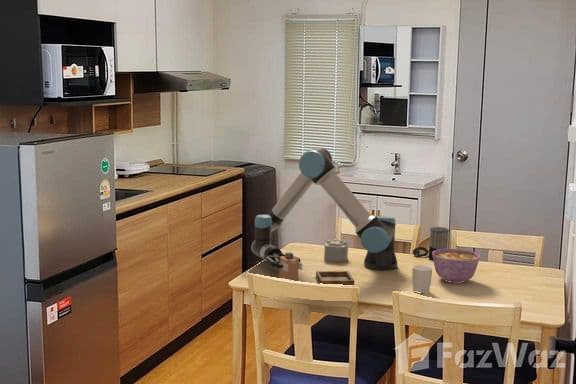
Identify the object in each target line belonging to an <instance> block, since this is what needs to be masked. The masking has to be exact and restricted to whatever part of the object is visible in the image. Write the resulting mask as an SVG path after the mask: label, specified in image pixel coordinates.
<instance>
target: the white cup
mask: <svg viewBox="0 0 576 384" xmlns="http://www.w3.org/2000/svg"><path fill="white" fill-rule="evenodd" d="M411 269H412V271H411V273H412V276H411V277H412V281H411V282H412V292H413V291H418V292H421V293H428V292H429V293H430V291H431V285H432V274H433V268H432V267H431V266H428V265H422V264H420V265H419V264H418V265H414V266H412V268H411ZM429 293H428V294H429Z"/></svg>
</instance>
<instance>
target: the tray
mask: <svg viewBox="0 0 576 384" xmlns="http://www.w3.org/2000/svg"><path fill="white" fill-rule="evenodd" d="M315 278H316V280H317V282H318V284H319V283H323V284H343V285H354V286H355V280H354V277H353V276H352V274H351V273H350V271H348V270H335V271H334V270H324V271H323V270H321V271H320V270H316V272H315Z"/></svg>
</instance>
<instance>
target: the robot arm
mask: <svg viewBox="0 0 576 384" xmlns="http://www.w3.org/2000/svg"><path fill="white" fill-rule="evenodd" d="M298 167H299V170H300V173H299V174H298V176H297V177H296V178H295V180H293V182H292V184H291V185H289V187H288V188H287V190H285V192H284V193H283V195H282V196H281V197H280V199H279V200H278V201H277V202H276V204H275V205H274V206H273V208H272V209H270V211H269V212H268V213H267V214H258V215H256V216H255V218H254V240H252V243H251V246H250V247H251V248H250V249H251V251H252V252H253V254H254V255H255V256H257V257H259V258H261V259H262V260H263V263H265V264H267V265H268V266H270V267H271V268H275V267H276V268H275V269H276V270H280V268H281V269H283V270H284V271H286V272H288V265H287V264H285V263H283V262H282V261H280V257H282V256H285V255H286V253H283V252H282V251H281V249H280V248H278V247H276V246H275V245H272V233H273V232H274V231H276V230H278V229H279V228H280V227H281V226H282V223H283V222H284V220H285V219H286V218H287V217H288V216H289V214H290V213H291V212H292V211H293V209H294V208H295V207H296V205H297V204H298V203H299V202H300V200H301V199H302V198H303V197H304V196H305V194H306V193H307V192H308V190H309V189H310V188H311V187H312V185H316V186H320V187H321V188H322V189H323V190H324V191H325V193H326V194H327V195H328V196H329V198H330V199H331V200H332V201H333V202H334V203H335V204H336V206H337V208H339V210H340V211H341V212H342V213H343V214H344V215H345V217H346V218H347V219H348V221H350V223H351V224H352V225H353V226H354V227H355V230H354V231H355V234H356V235H357V236H358V238H359V239H360V242H361V245H362V247H363V249H364V250H365V251H366V253H365V257H364V258H363V259H364V261H363V266H364V267H365V268H367V269H369V270H370V269H371V270H376V271H392V270H395V269H397V268H398V259H397V256H396V253H395V252H396V251H395V241H396V238H395V236H396V225H397V224H396V219H395V218H394V217H391V216H383V215H373V214H370V212H369V211H368V210H367V208H366V207H365V206H364V205H363V204H362V203H361V201H360V200H359V199H358V198H357V197H356V195H355V194H354V193H353V192H352V191H351V189H350V188H349V187H348V185H346V184H345V182H344V181H343V180H342V179H341V177H340V176H339V175H338V173H337V172H336V171H337V168H336V166H335V165H334V164H333V157H332V153H330V152H329V150H328V149H326V148H324V147H315V148H312V149H309V150H307V151H305V152H304V153H303V154H302V155H301V156H300V158H299V162H298ZM293 256H294V257H296V258H298V259H299V266H298V270H299V271H303V263H302V262H301V258H299V257H297V256H296V255H293Z"/></svg>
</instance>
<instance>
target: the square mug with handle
mask: <svg viewBox="0 0 576 384" xmlns="http://www.w3.org/2000/svg"><path fill="white" fill-rule="evenodd" d="M294 256H295V255H293V259H286V258H285V256H282V257H280V261H282V262H283V263H285V264H287V265H288V272H286V271H284V270H283V269H281V268H279V270H278V272H279V273H278V274H279V275H278V276H279V278H280V277H281V278H280V279H282V278H285V279H292V280H291V281H296V280H299V269H298V266H299V259H298V258H299V257H298V258H296V257H297V256H295V257H294Z"/></svg>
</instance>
